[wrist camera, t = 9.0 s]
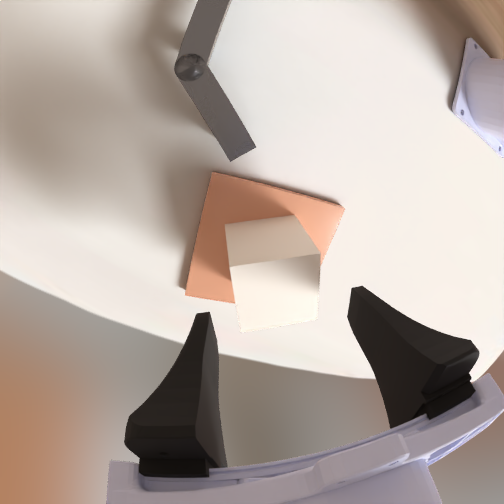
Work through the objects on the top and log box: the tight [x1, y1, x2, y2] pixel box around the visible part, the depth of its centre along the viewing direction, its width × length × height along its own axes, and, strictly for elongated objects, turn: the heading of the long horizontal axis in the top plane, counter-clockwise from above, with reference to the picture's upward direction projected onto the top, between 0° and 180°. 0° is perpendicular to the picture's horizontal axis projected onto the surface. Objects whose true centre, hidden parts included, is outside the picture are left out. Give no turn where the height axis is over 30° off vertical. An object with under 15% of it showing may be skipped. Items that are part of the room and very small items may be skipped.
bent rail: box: [174, 0, 256, 162], centre depth 12 cm, size 5×10×4 cm, turn 163°
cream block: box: [225, 215, 321, 333], centre depth 17 cm, size 4×4×5 cm
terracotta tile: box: [185, 172, 345, 303], centre depth 20 cm, size 9×9×1 cm
